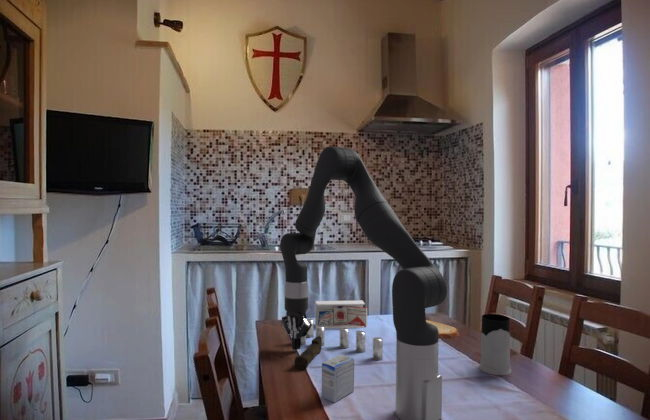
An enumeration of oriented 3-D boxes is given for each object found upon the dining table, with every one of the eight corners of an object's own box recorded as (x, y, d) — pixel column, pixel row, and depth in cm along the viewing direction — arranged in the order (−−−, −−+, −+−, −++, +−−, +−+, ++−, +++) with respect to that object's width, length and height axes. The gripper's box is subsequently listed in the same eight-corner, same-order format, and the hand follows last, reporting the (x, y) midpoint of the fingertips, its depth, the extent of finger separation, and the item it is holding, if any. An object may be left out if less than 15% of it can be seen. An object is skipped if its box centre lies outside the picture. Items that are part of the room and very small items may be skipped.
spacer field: (386, 357, 127) (386, 338, 127) (358, 368, 118) (358, 348, 118) (315, 332, 151) (316, 316, 151) (287, 340, 142) (287, 323, 142)
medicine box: (340, 386, 106) (340, 353, 106) (354, 391, 104) (354, 357, 104) (320, 397, 100) (321, 362, 100) (335, 403, 98) (335, 367, 97)
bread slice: (463, 338, 148) (463, 327, 148) (416, 341, 144) (417, 330, 144) (438, 323, 165) (438, 314, 165) (396, 326, 161) (396, 317, 161)
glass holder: (485, 375, 114) (485, 321, 114) (468, 356, 129) (469, 308, 129) (516, 375, 114) (517, 321, 114) (497, 356, 128) (497, 308, 128)
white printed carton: (316, 328, 156) (316, 304, 156) (315, 324, 162) (315, 300, 162) (367, 328, 158) (368, 303, 158) (365, 323, 164) (365, 300, 163)
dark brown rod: (306, 371, 117) (307, 355, 117) (293, 369, 118) (294, 353, 118) (328, 349, 134) (328, 335, 134) (317, 348, 136) (317, 334, 136)
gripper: (318, 296, 129) (318, 351, 129) (292, 290, 139) (292, 341, 139) (300, 300, 124) (300, 357, 124) (274, 293, 134) (274, 346, 134)
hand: (296, 348), depth 132 cm, fingers closed
